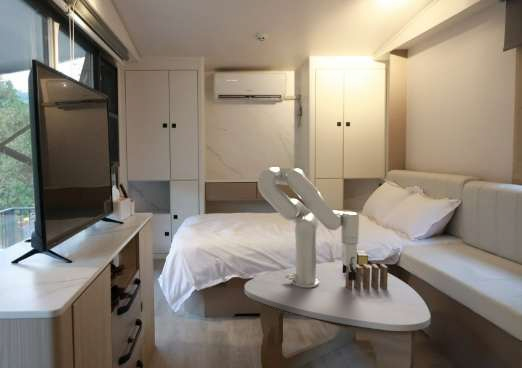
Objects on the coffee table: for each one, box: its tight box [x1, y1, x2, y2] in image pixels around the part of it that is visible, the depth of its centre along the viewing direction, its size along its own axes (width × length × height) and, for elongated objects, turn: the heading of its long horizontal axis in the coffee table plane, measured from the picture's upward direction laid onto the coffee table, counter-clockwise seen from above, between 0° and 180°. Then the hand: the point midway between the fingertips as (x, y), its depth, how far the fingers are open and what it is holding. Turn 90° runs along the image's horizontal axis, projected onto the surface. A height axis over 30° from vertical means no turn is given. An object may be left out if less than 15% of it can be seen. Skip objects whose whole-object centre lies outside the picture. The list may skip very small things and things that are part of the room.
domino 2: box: [353, 264, 362, 290], centre depth 159 cm, size 2×5×10 cm, turn 2°
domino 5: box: [379, 263, 389, 290], centre depth 159 cm, size 2×5×10 cm, turn 2°
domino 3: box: [362, 264, 371, 290], centre depth 159 cm, size 2×5×10 cm, turn 2°
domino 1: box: [345, 266, 353, 290], centre depth 159 cm, size 2×5×10 cm, turn 2°
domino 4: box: [370, 263, 380, 290], centre depth 159 cm, size 2×5×10 cm, turn 2°
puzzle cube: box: [350, 249, 369, 276], centre depth 180 cm, size 10×10×10 cm
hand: (348, 276), depth 159 cm, fingers open, 9 cm apart
